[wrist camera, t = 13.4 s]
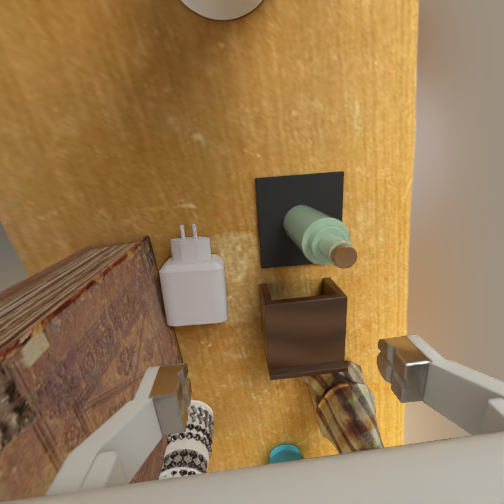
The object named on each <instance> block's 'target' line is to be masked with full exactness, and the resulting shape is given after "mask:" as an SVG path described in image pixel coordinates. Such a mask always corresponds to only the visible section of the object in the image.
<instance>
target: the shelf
mask: <svg viewBox="0 0 504 504" xmlns="http://www.w3.org/2000/svg"><path fill="white" fill-rule="evenodd" d="M260 299H261V314H262V328H263V343H264V349H265V355H266V361H267V366H268V372H269V377H270V380H277V379H286V378H295V377H303V376H312V375H321V374H329V373H338V372H347V371H348V366H347V364H346V363H345V361H344V356H345V335H346V314H347V296H346V295H345V294H344V293H343V292H342V290H341V289H340V288H339V287H338V286H337V285H336V284H335V283H334V282H333V280H332V279H331V278H323V295H321V296H311V297H301V298H291V299H281V300H271V297H270V293H269V290H268V287H267V284H260Z"/></svg>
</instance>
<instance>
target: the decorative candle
mask: <svg viewBox="0 0 504 504" xmlns="http://www.w3.org/2000/svg"><path fill="white" fill-rule="evenodd" d="M187 412H188V420H187V425H186V431H185V432H182V433H176V434H170V435H169V438H168V442H167V446H166V450H165V455H164V459H163V463H162V468H161V472H160V476H159V480H160V479H167V478H174V477H181V476H188V475H195V474H202V473H207V468H208V466H209V458H210V454H211V452H212V449H211V444H212V435H213V426H214V422H213V419H214V415H213V410H212V409H211V408H210V407H209V405H207V404H205V403H204V402H202V401H197V400H191V403H190V406H189V407H188V408H187Z"/></svg>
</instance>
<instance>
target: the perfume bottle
mask: <svg viewBox="0 0 504 504" xmlns="http://www.w3.org/2000/svg"><path fill="white" fill-rule="evenodd" d="M301 459H304V458H303V456H302V455H301V454H300V451H299V449H298V448H297V447H296V446H294V445H290V444H284V445H280V446H278V447H276V448H274V449H273V450H272V452H271V454H270V461H269V464H273V463H280V462H287V461H294V460H301Z"/></svg>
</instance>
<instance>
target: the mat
mask: <svg viewBox="0 0 504 504" xmlns="http://www.w3.org/2000/svg"><path fill="white" fill-rule="evenodd" d="M343 181H344V172H331V173H318V174H305V175H292V176H279V177H266V178H256V191H257V207H258V222H259V238H260V253H261V267H262V268H270V267H281V266H292V265H302V264H313V263H312V262H311V261H309V260H308V259H307V258H306V257H305V255H304V254H303V253H302V252H301V251H300V249H299V248H298V247H297V246H296V245H295V244H294V242H293V241H292V240H291V239H290V238H289V236H288V235H287V234H286V232H285V230H284V218H285V216H286V214H287V213H288V211H289V210H291V209H292V208H293V207H295V206H298V205H307V206H310V207H312V208H314V209H316V210H318V211H321V212H323V213H325V214H327V215H329V216H331V217H333V218H335V219H337V220H339V221H341V222H342V208H343Z"/></svg>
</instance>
